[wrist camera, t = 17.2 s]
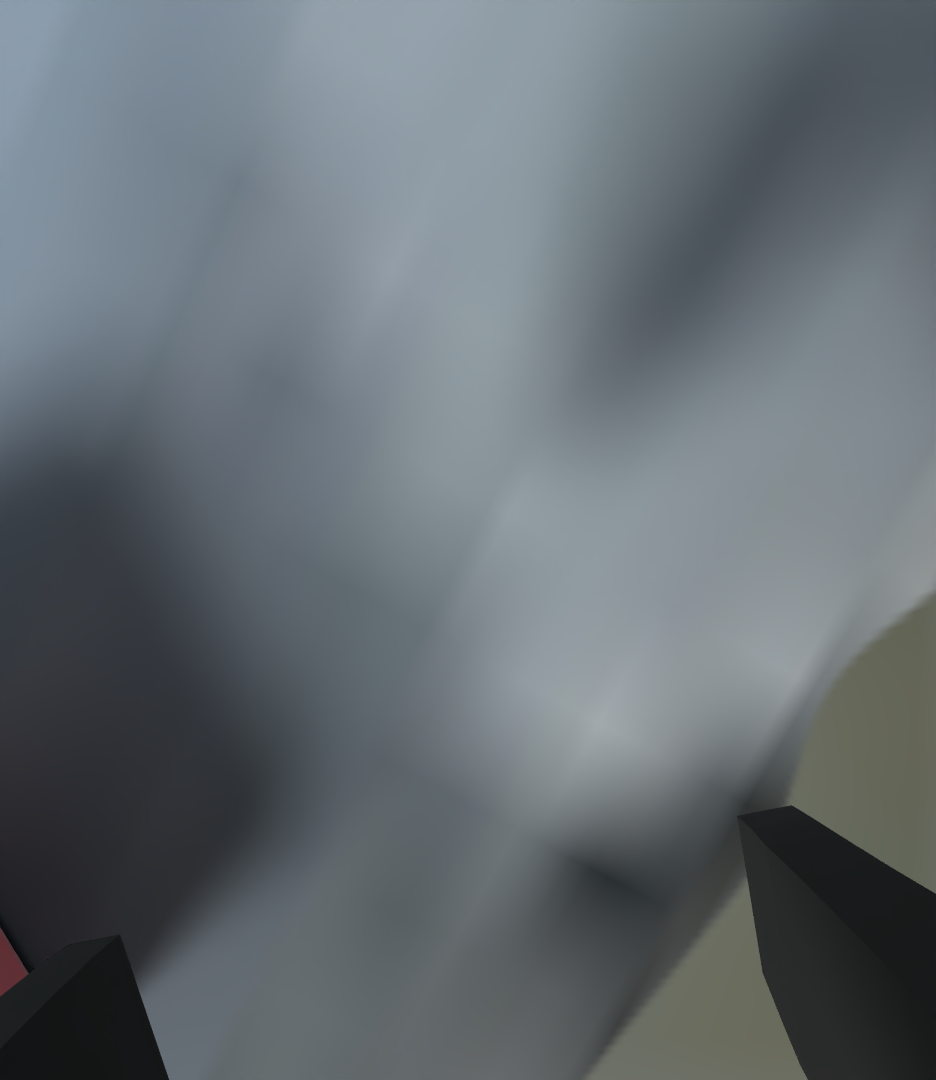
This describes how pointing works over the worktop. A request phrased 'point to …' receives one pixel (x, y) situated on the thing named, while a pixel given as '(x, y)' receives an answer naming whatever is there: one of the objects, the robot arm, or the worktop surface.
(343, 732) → the worktop surface
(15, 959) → the puzzle cube
